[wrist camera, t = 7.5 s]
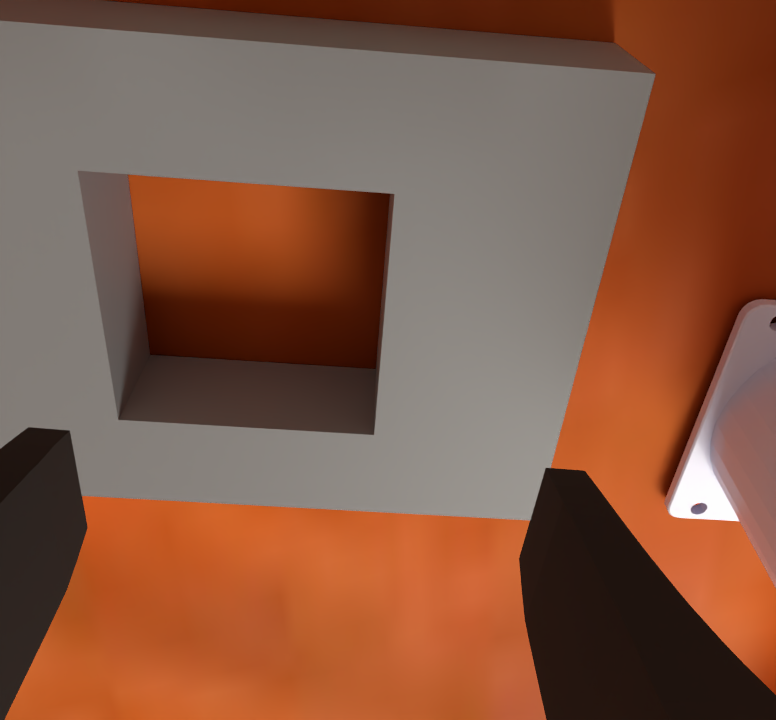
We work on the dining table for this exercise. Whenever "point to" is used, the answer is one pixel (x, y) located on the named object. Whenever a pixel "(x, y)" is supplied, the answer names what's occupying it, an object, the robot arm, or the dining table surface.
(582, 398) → the dining table surface
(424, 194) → the holder
